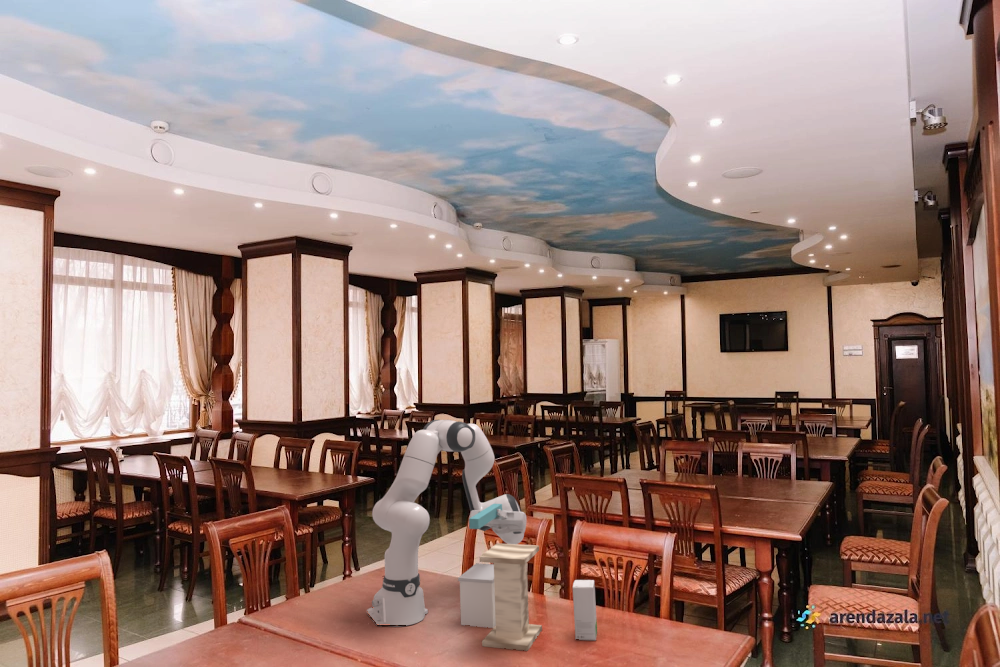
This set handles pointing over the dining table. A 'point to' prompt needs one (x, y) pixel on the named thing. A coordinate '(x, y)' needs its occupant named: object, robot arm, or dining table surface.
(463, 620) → the grey storage box
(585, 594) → the skincare box
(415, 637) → the dining table surface
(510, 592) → the birch pedestal
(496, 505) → the teal bar
